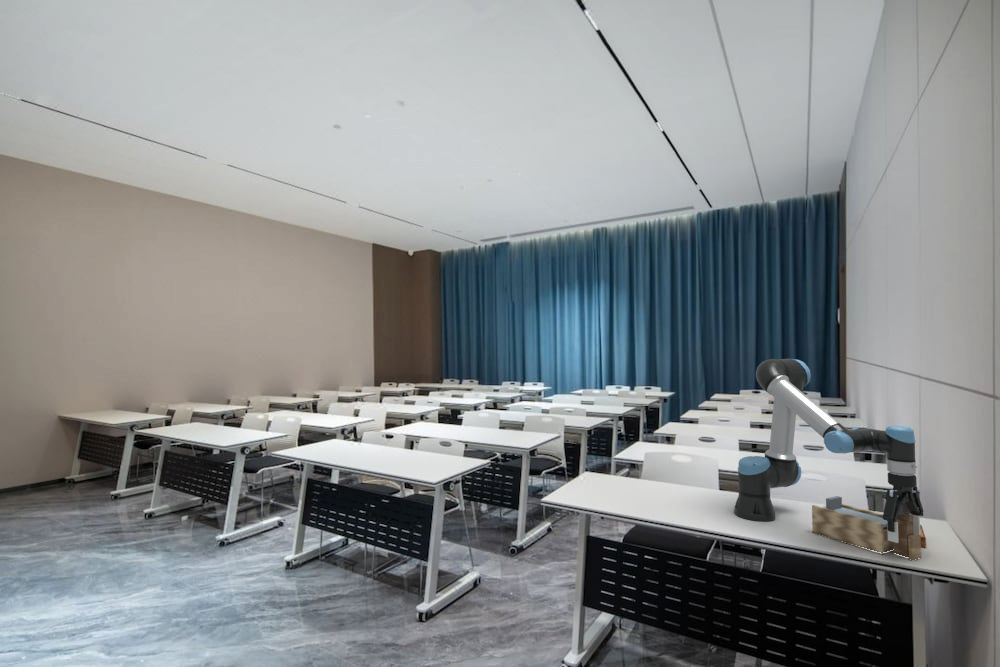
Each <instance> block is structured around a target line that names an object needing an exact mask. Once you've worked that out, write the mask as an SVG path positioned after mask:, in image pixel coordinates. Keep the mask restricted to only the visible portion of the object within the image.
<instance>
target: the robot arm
mask: <svg viewBox="0 0 1000 667" xmlns="http://www.w3.org/2000/svg"><path fill="white" fill-rule="evenodd" d="M811 377H812V375H811V370H810V368H809V367H808V365H807V364H806V363H805V361H802V360H800V359H796V358H795V359H793V358H782V359H781V358H774V359H773V358H770V359H765V360H764V361H762V362H760V364H759V365H758V366H757V367H756V371H755V378H756V381H757V383H758V384H759V386H760V387H761V388H762V389H763V390H764V391H765V392H766V393H767V394H768V395H771V396H773V405H772V406H773V407H772V416H771V428H770V440H769V449H766V451H764V456H761V455H759V456H758V455H754V456H753V455H749V456H744V457H741V458H740V459H739V460H738V466H737V472H738V474H737V475H738V477H737V478H738V479H737V480H738V496H737V499H736V502H735V505H734V510H733V512H734V515H736V516H737V517H739V518H741V519H745V520H749V521H756V522H771V521H775V520H776V510H775V509H774V506H773V503H772V500H771V489H778V488H787V487H790V486H795V485H796V484H797V483H798V482H799V481H800V479H801V478H802V467H801V466H800V463H799V462H798V461H797V456H796V455H795V454H794V453H793V452H794V441H795V431H796V430H795V429H796V421H797V416H798V417H799V418H800V419H801V421H804V422H805V423H806V424H807V426H809V427H810V428H811V429H812V430H814V431H815V432H816V433H817V434H818V435H819V436H821V438H822V439H823V445H825V448H826V450H828V451H829V452H831V453H832V454H833V453H834V454H843V455H844V454H850V453H858V452H859V453H860V452H869V451H870V452H876V453H877V452H878V453H883V454H886V468H887V469H886V470H887V471H888V472H887V483H888V484H889V485H891V486H892V489H887V490H886V500H885V505H884V508H883V513H882V514H883V520H887V531H888V541H892V542H895V543H899V539H898V522H896V520H897V517H898V514H899V512H900V511H901V509H902V506H904V505H906V506H907V509H908V511H909V515H913V530H914V534H919V535H920V525H921V519H920V518H921V517H924V508H923V505H922V502H921V498H920V496H919V493H918V492H919V491H918V480H917V476H916V474H917V469H918V466H917V464H916V463H917V462H916V439H915V431H914V429H913V428H911V427H910V426H904V425H903V426H902V425H887V426H886V428H885V430H880V429H875V428H874V429H872V428H866V427H852V428H851V429H847V428H846V427H845V426H844V425H842V423H840V422H839V421H838V420H836V419H835V418H834V417H833V416H832V415H830V414H829V413H827V412H826V410H824V409H823V408H822V407H821V406H820V405H818V404H817V403H816V402H814V400H812V398H810V397H809V396H807V395H806V393H804V391H803V390H804V387H806V386H807V385H808V384H810V382H811Z"/></svg>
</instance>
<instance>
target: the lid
mask: <svg viewBox="0 0 1000 667" xmlns="http://www.w3.org/2000/svg"><path fill="white" fill-rule="evenodd" d="M842 504H843V498H842V496H839V495H836V496H831V497H827V498H825V505H824V506H822V507H823V508H827V509H831V510H834V511H838V512H842V513H845V514H849V515H853V516H856V517H860V518H864V519H867V520H871V521H875V522H878V523H882V524H883V528H884V527H887V520H883V518H881V517H877V516H873V515H869V514H866V513H862V512H858V511H854V510H850V509H847V508H843V507H842Z"/></svg>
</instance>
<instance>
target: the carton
mask: <svg viewBox="0 0 1000 667" xmlns="http://www.w3.org/2000/svg"><path fill="white" fill-rule="evenodd" d="M924 531H925V530H924V528H923V526H922V524H920V535H921V549H926V548H927V547H926V545H927V543H926V542H927V538H926V535H925V532H924Z"/></svg>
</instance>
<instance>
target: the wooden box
mask: <svg viewBox="0 0 1000 667" xmlns="http://www.w3.org/2000/svg"><path fill="white" fill-rule="evenodd" d="M823 507H824V506H819V505H815V504H813V505H811V520H812V521H811V522H812V523H811V524H812V526H811V527H812V528H811V529H812V530H811V531H812V533H813V532H814V533H813V534H816V533H817V534H816V535H819V534H820V536H822V535H823V537H825V536H826V538H828V537H829V539H831V538H832V540H834V539H835V541H838V540H839V541H838V542H841V541H843V542H842V543H844V542H846V543H845V544H847V543H850V544H853V545H857V546H860V547H864V548H867V549H870V550H874V551H877V552H881V553H883V552H887V551H890V550H893V549H894V547H893V542H892V541H888V531H887V527H884V528H883V524H882V523H878V522H875V521H871V520H867V519H864V518H860V517H856V516H853V515H849V514H845V513H842V512H838V511H834V510H831V509H827V508H823ZM842 507H843V508H847V509H850V510H854V511H858V512H862V513H866V514H869V515H873V516H877V517H881V518H883V513H878V512H874V511H871V510H868V509H863V508H860V507H859V508H858V507H856V506H852V505H847V504H844V503H842ZM850 544H849V545H850ZM853 545H852V546H853ZM908 550H909V559H911V560H910V561H912V560H915V559H917V560H919V559H918V558H920V559H922V548H921V535H919V534H914V535H910V536H908ZM909 559H908V560H909ZM915 561H916V560H915Z"/></svg>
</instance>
